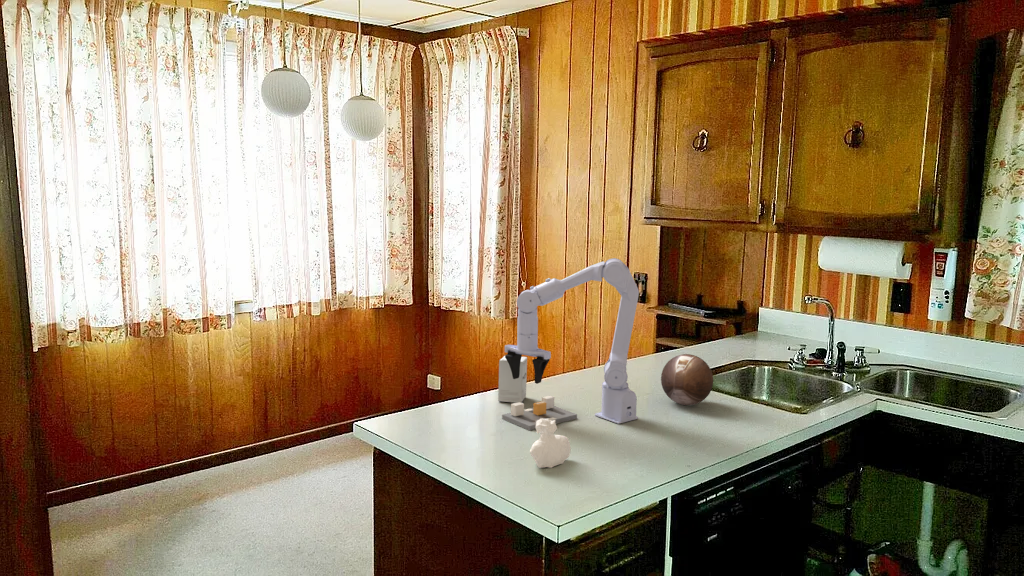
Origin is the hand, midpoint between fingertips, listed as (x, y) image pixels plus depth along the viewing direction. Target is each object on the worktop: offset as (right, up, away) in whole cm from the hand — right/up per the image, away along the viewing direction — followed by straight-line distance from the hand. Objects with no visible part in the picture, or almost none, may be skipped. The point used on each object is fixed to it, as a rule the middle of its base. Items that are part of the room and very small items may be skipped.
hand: (526, 380), depth 205 cm
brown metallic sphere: (+48, -9, +11) cm, 50 cm away
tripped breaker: (+3, -9, -4) cm, 10 cm away
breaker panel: (+3, -10, -4) cm, 11 cm away
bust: (+4, -15, -36) cm, 39 cm away
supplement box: (-4, -8, +14) cm, 17 cm away
